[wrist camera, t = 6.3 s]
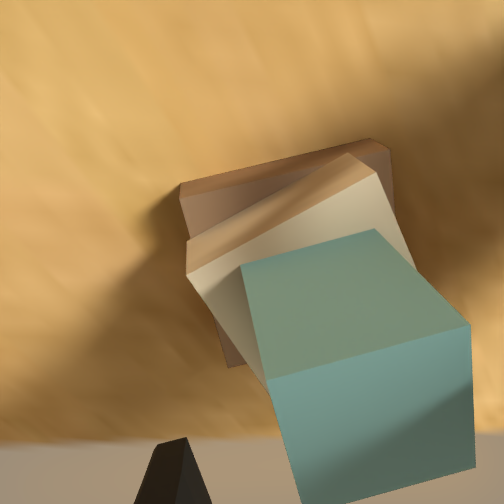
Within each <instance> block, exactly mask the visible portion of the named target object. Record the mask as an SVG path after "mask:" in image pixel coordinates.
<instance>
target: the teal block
mask: <svg viewBox="0 0 504 504" xmlns="http://www.w3.org/2000/svg"><path fill="white" fill-rule="evenodd" d="M240 267H241V272H242V276H243V280H244V285H245V289H246V294H247V298H248V303H249V307H250V312H251V316H252V321H253V325H254V330H255V334H256V339H257V343H258V348H259V352H260V357H261V361H262V366H263V370H264V374H265V379H266V383H267V386H268V390H269V393H270V397H271V400H272V403H273V407H274V410H275V414H276V417H277V421H278V424H279V427H280V431H281V434H282V438H283V441H284V444H285V447H286V451H287V455H288V458H289V462H290V465H291V469H292V472H293V475H294V478H295V482H296V485H297V489H298V493H299V496H300V499H301V503H302V504H346V503H350V502H353V501H357V500H360V499H364V498H368V497H371V496H375V495H378V494H382V493H386V492H389V491H393V490H397V489H400V488H403V487H407V486H411V485H415V484H418V483H422V482H425V481H428V480H432V479H436V478H440V477H443V476H447V475H450V474H454V473H457V472H461V471H465V470H469V469H472V468H475V467H476V462H475V461H476V460H475V431H474V404H473V377H472V350H471V325H470V324H469V323H468V322H467V321H466V320H465V319H464V318H463V317H462V316H461V315H460V314H459V313H458V312H457V311H456V309H455V308H454V307H453V306H452V305H451V304H450V303H449V302H448V301H447V300H446V299H445V298H444V297H443V296H442V295H441V294H440V293H439V292H438V291H437V290H436V289H435V288H434V287H433V286H432V285H431V284H430V283H429V282H428V281H427V280H426V279H425V278H424V277H423V276H422V275H421V274H420V273H419V272H418V271H417V270H416V269H415V268H414V267H413V266H412V265H411V264H410V263H409V262H408V261H407V260H406V259H405V258H404V257H403V256H402V255H401V254H400V253H399V252H398V251H397V250H396V249H395V248H394V247H393V246H392V245H391V244H390V243H389V242H388V241H387V240H386V239H385V238H384V237H383V236H382V235H381V234H380V233H379V232H378V231H377V230H376V229H375V228H374V229H370V230H367V231H363V232H359V233H356V234H352V235H348V236H345V237H341V238H337V239H333V240H330V241H326V242H322V243H319V244H315V245H311V246H308V247H304V248H300V249H297V250H293V251H289V252H286V253H282V254H278V255H275V256H271V257H267V258H264V259H260V260H256V261H252V262H249V263H245V264H241V265H240Z"/></svg>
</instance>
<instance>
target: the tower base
mask: <svg viewBox="0 0 504 504" xmlns="http://www.w3.org/2000/svg"><path fill="white" fill-rule="evenodd" d="M346 153H349V154H351V155H352V156H354V157H355V158H357V159H358V160H359V161H361V162H362V163H364V164H365V165H367V166H368V167H370V168H371V169H372V170H374V171H375V172H376V173H377V175H378V178H379V180H380V182H381V185H382V187H383V190H384V192H385V194H386V197H387V199H388V202H389V204H390V206H391V209H392V211H393V214H394V216H395V205H394V192H393V179H392V166H391V153H390V149H389V148H387V147H385V146H383V145H382V144H380V143H378V142H376V141H374V140H372V139H370V138H369V139H365V140H360V141H356V142H352V143H348V144H344V145H339V146H335V147H331V148H327V149H323V150H318V151H314V152H310V153H306V154H302V155H297V156H293V157H289V158H285V159H280V160H276V161H272V162H268V163H264V164H259V165H255V166H251V167H247V168H243V169H238V170H234V171H230V172H226V173H222V174H217V175H213V176H209V177H205V178H200V179H196V180H192V181H188V182H184V183H181V185H180V195H179V200H180V204H181V207H182V211H183V214H184V217H185V221H186V224H187V228H188V231H189V235H190V238H191V239H192V238H194V237H195V236H197V235H199V234H201V233H203V232H204V231H206V230H208V229H210V228H212V227H213V226H215V225H217V224H219V223H221V222H223V221H224V220H226V219H228V218H230V217H232V216H233V215H235V214H237V213H239V212H241V211H243V210H244V209H246V208H248V207H250V206H252V205H253V204H255V203H257V202H259V201H261V200H262V199H264V198H266V197H268V196H270V195H272V194H273V193H275V192H277V191H279V190H281V189H282V188H284V187H286V186H288V185H290V184H291V183H293V182H295V181H297V180H299V179H301V178H302V177H304V176H306V175H308V174H310V173H311V172H313V171H315V170H317V169H319V168H320V167H322V166H324V165H326V164H328V163H330V162H331V161H333V160H335V159H337V158H339V157H340V156H342V155H344V154H346ZM213 317H214V321H215V324H216V328H217V331H218V335H219V338H220V342H221V345H222V348H223V352H224V355H225V359H226V362H227V366H228V368H231V367H235V366H239V365H243V364H247V362H246V361H245V360H244V358H243V357H242V355H241V354H240V352H239V351H238V350H237V348H236V347H235V345H234V344H233V342H232V341H231V339H230V338H229V337H228V335H227V334H226V332H225V331H224V329H223V328H222V326H221V325H220V324H219V322H218V321H217V319H216V318H215V316H214V315H213Z"/></svg>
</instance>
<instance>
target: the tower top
mask: <svg viewBox="0 0 504 504" xmlns="http://www.w3.org/2000/svg"><path fill="white" fill-rule="evenodd" d="M374 228H375V229H376V230H377V231H378V232H379V233H380V234H381V235H382V236H383V237H384V238H385V239H386V240H387V241H388V242H389V243H390V244H391V245H392V246H393V247H394V248H395V249H396V250H397V251H398V252H399V253H400V254H401V255H402V256H403V257H404V258H405V259H406V260H407V261H408V262H409V263H410V264H411V265H412V266H413V267H414V268H415V269H416V266H415V264H414V262H413V259H412V257H411V254H410V252H409V250H408V247H407V245H406V242H405V240H404V238H403V235H402V233H401V230H400V228H399V226H398V223H397V221H396V218H395V216H394V214H393V211H392V209H391V206H390V204H389V202H388V199H387V197H386V194H385V192H384V190H383V187H382V185H381V182H380V180H379V178H378V175H377V173H376V172H375V171H374V170H372V169H371V168H370V167H368V166H367V165H365V164H364V163H362V162H361V161H359V160H358V159H357V158H355V157H354V156H352V155H351V154H349V153H346V154H344V155H342V156H340V157H339V158H337V159H335V160H333V161H331V162H330V163H328V164H326V165H324V166H322V167H320V168H319V169H317V170H315V171H313V172H311V173H310V174H308V175H306V176H304V177H302V178H301V179H299V180H297V181H295V182H293V183H291V184H290V185H288V186H286V187H284V188H282V189H281V190H279V191H277V192H275V193H273V194H272V195H270V196H268V197H266V198H264V199H262V200H261V201H259V202H257V203H255V204H253V205H252V206H250V207H248V208H246V209H244V210H243V211H241V212H239V213H237V214H235V215H233V216H232V217H230V218H228V219H226V220H224V221H223V222H221V223H219V224H217V225H215V226H213V227H212V228H210V229H208V230H206V231H204V232H203V233H201V234H199V235H197V236H195V237H194V238H192V239H190V240H188V241H187V252H186V276H187V278H188V279H189V280H190V282H191V283H192V285H193V286H194V288H195V289H196V291H197V292H198V293H199V295H200V296H201V298H202V299H203V301H204V302H205V303H206V305H207V306H208V308H209V309H210V311H211V312H212V314H213V315H214V316H215V318H216V319H217V321H218V322H219V324H220V325H221V326H222V328H223V329H224V331H225V332H226V334H227V335H228V337H229V338H230V339H231V341H232V342H233V344H234V345H235V347H236V348H237V350H238V351H239V352H240V354H241V355H242V357H243V358H244V360H245V361H246V362H247V364H248V365H249V367H250V368H251V370H252V371H253V373H254V374H255V375H256V377H257V378H258V380H259V381H260V383H261V384H262V385H263V387H264V388H265V390H266V391H267V393H268V394H269V396H270V393H269V390H268V386H267V383H266V379H265V374H264V370H263V366H262V361H261V357H260V352H259V348H258V343H257V339H256V334H255V330H254V325H253V321H252V316H251V312H250V307H249V303H248V298H247V294H246V289H245V285H244V280H243V276H242V272H241V267H240V265H241V264H245V263H249V262H252V261H256V260H260V259H264V258H267V257H271V256H275V255H278V254H282V253H286V252H289V251H293V250H297V249H300V248H304V247H308V246H311V245H315V244H319V243H322V242H326V241H330V240H333V239H337V238H341V237H345V236H348V235H352V234H356V233H359V232H363V231H367V230H370V229H374ZM416 270H417V269H416Z"/></svg>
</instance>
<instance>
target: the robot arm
mask: <svg viewBox="0 0 504 504" xmlns="http://www.w3.org/2000/svg"><path fill="white" fill-rule="evenodd" d="M134 504H212V502H211V499H210V496H209V494H208V491H207V489H206V486H205V484H204V481H203V478H202V476H201V473H200V471H199V468H198V465H197V463H196V460H195V458H194V455H193V453H192V450H191V447H190V445H189V442H188V440H187V437H185V438H181V439H177V440H173V441H169V442H165V443H161V444H158V445H157V446H156V448H155V449H154V451H153V454H152V457H151V460H150V462H149V465H148V468H147V471H146V473H145V476H144V479H143V481H142V484H141V486H140V489H139V492H138V494H137V497H136V499H135V502H134Z"/></svg>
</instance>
